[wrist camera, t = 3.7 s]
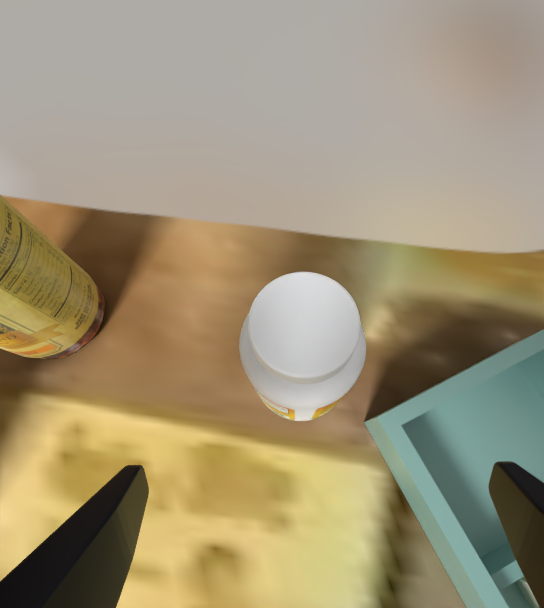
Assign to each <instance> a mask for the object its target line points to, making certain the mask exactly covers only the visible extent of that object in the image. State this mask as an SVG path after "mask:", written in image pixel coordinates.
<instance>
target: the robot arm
mask: <svg viewBox="0 0 544 608" xmlns="http://www.w3.org/2000/svg"><path fill="white" fill-rule="evenodd" d="M488 488H489V494H490V496H491V499H492V502H493V504H494V507H495V509H496V512H497V514H498V517H499V519H500V522H501V524H502V527H503V529H504V532H505V534H506V537H507V539H508V542H509V544H510V547H511V549H512V552H513V554H514V557H515V559H516V561H517V563H518V565H519V567H520V569H521V572H522V574H523V575H524V577H525V579H526V581H527V583H528V585H529V587H530V589H531V591H532V593H533V595H534V597H535V599H536V601H537V603H538V605H539V607H540V608H544V483H543V482H542V481H540V480H539V479H538V478H536V477H535V476H533V475H532V474H531V473H529V472H528V471H526V470H525V469H523V468H522V467H521V466H519V465H518V464H516V463H514V462H511V461H498V462H496V463H495V464H494V465H493V469H492V473H491V477H490V480H489V485H488ZM148 493H149V488H148V483H147V479H146V475H145V471H144V468H143V466H141V465H127V466H125V467H124V468H123V469H122V470H121V471H119V472H118V473H117V474H116V475H115V476H114V477H113V478H112V479H111V480H110V481H109V482H108V483H106V484H105V485H104V486H103V487H102V488H101V489H100V490H99V491H98V492H97V493H96V494H95V495H93V496H92V497H91V498H90V499H89V500H88V501H87V502H86V503H85V504H84V505H83V506H82V507H80V508H79V509H78V510H77V511H76V512H75V513H74V514H73V515H72V516H71V517H70V518H69V519H67V520H66V521H65V522H64V523H63V524H62V525H61V526H60V527H59V528H58V529H57V530H56V531H54V532H53V533H52V534H51V535H50V536H49V537H48V538H47V539H46V540H45V541H44V542H43V543H41V544H40V545H39V546H38V547H37V548H36V549H35V550H34V551H33V552H32V553H31V554H30V555H28V556H27V557H26V558H25V559H24V560H23V561H22V562H21V563H20V564H19V565H18V566H17V567H15V568H14V569H13V570H12V571H11V572H10V573H9V574H8V575H7V576H6V577H5V578H3V579H2V580H1V581H0V608H116V606H117V603H118V600H119V598H120V595H121V592H122V589H123V586H124V583H125V580H126V577H127V575H128V572H129V569H130V566H131V563H132V559H133V556H134V552H135V548H136V544H137V540H138V536H139V532H140V528H141V524H142V519H143V515H144V511H145V507H146V503H147V499H148Z"/></svg>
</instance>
